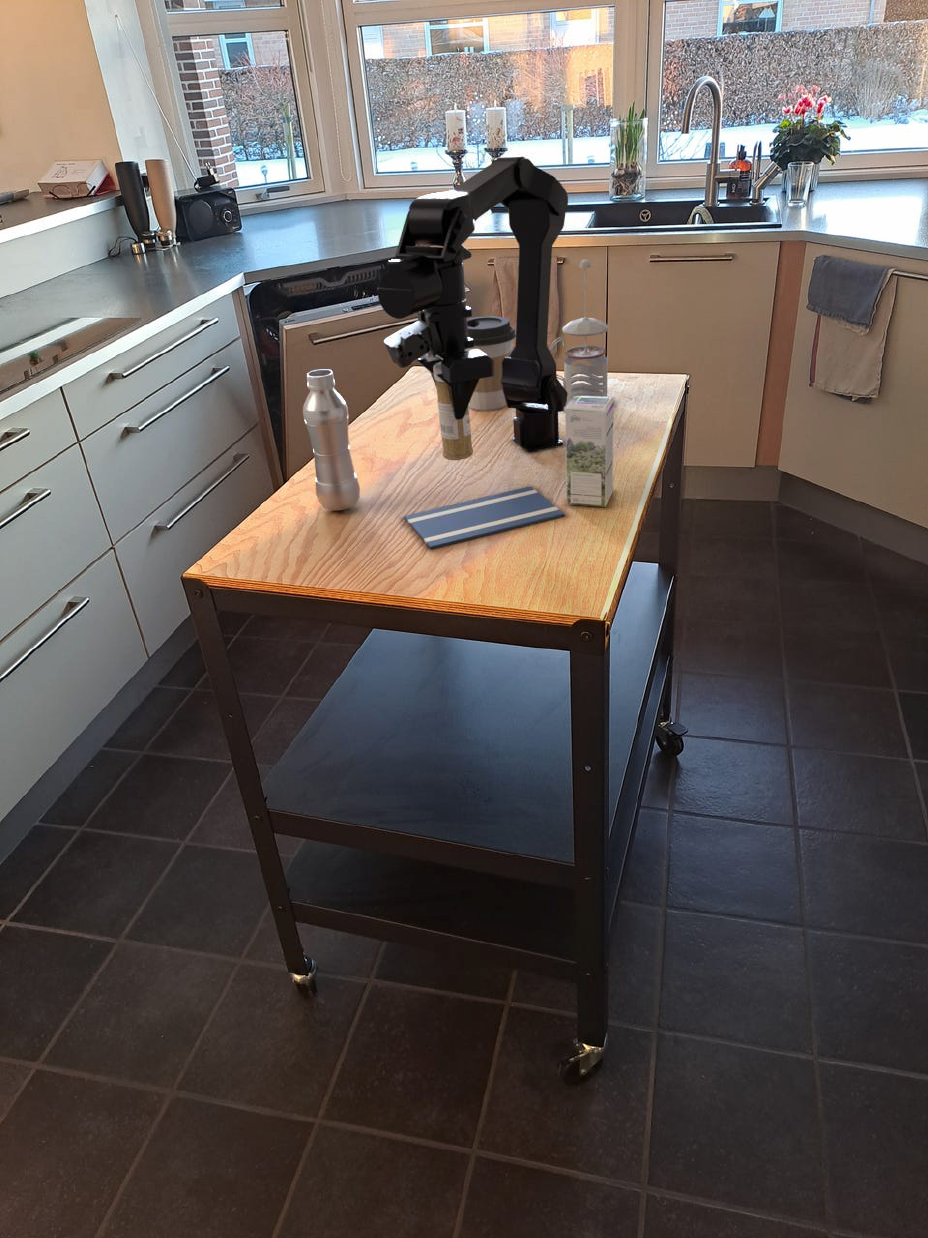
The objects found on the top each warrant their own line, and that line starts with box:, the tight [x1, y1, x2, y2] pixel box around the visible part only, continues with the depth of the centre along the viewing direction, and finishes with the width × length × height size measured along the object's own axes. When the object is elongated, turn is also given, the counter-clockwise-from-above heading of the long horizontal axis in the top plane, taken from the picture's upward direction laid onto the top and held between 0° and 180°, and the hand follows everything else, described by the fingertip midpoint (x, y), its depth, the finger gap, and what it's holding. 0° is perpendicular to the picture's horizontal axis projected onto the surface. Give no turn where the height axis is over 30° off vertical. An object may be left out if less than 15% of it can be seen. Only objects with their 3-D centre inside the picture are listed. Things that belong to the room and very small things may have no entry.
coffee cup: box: [465, 315, 516, 412], centre depth 168 cm, size 11×11×15 cm
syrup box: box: [564, 396, 615, 508], centre depth 129 cm, size 6×6×14 cm
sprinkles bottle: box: [433, 362, 474, 461], centre depth 130 cm, size 5×5×13 cm
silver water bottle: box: [302, 368, 361, 511], centre depth 132 cm, size 6×7×20 cm
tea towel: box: [403, 485, 565, 550], centre depth 130 cm, size 20×11×1 cm, turn 112°
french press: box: [548, 259, 610, 412], centre depth 161 cm, size 10×12×25 cm
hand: (453, 414), depth 130 cm, fingers closed on sprinkles bottle, 4 cm apart
